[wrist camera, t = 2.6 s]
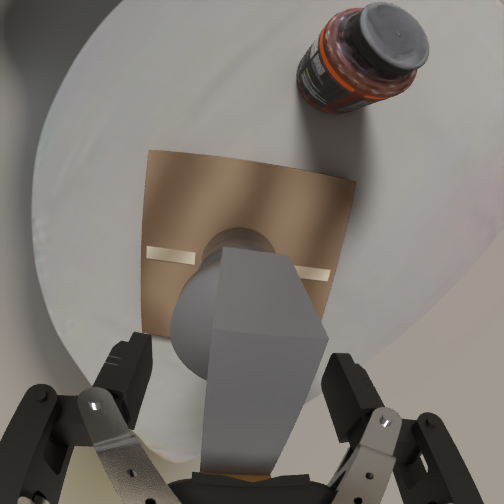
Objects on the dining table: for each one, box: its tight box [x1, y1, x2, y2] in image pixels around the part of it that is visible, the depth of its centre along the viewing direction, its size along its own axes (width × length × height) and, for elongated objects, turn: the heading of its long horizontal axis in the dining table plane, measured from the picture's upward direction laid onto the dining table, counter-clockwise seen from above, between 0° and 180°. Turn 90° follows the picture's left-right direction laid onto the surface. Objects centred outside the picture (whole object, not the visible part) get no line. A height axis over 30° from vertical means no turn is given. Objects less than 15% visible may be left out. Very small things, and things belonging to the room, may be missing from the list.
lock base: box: [141, 150, 356, 337], centre depth 20 cm, size 16×16×9 cm
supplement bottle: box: [297, 2, 429, 114], centre depth 14 cm, size 6×6×11 cm
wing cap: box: [170, 247, 329, 482], centre depth 11 cm, size 9×7×8 cm
